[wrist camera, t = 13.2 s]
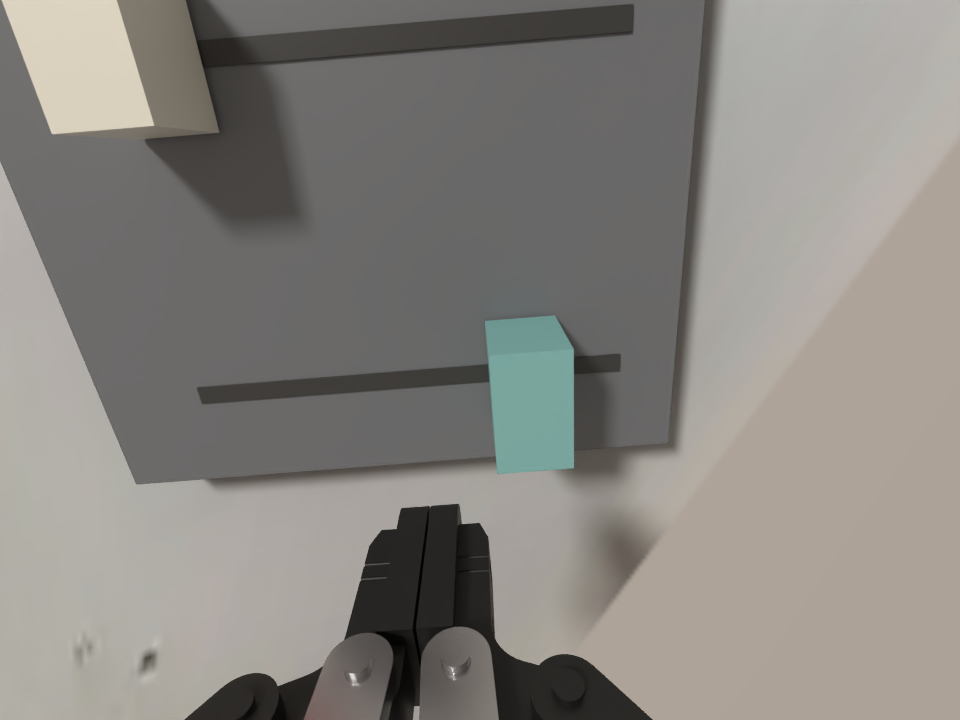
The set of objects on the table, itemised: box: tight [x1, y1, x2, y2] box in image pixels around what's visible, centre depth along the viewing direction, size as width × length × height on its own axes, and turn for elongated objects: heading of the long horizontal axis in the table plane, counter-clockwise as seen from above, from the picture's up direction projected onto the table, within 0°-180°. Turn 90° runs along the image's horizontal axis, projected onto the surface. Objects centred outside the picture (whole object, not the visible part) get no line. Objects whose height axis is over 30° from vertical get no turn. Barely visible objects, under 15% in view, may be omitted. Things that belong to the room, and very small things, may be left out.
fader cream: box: [2, 0, 220, 140], centre depth 15 cm, size 3×5×4 cm, turn 4°
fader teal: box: [485, 315, 574, 474], centre depth 20 cm, size 3×5×4 cm, turn 4°
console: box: [0, 0, 705, 484], centre depth 21 cm, size 26×22×3 cm
